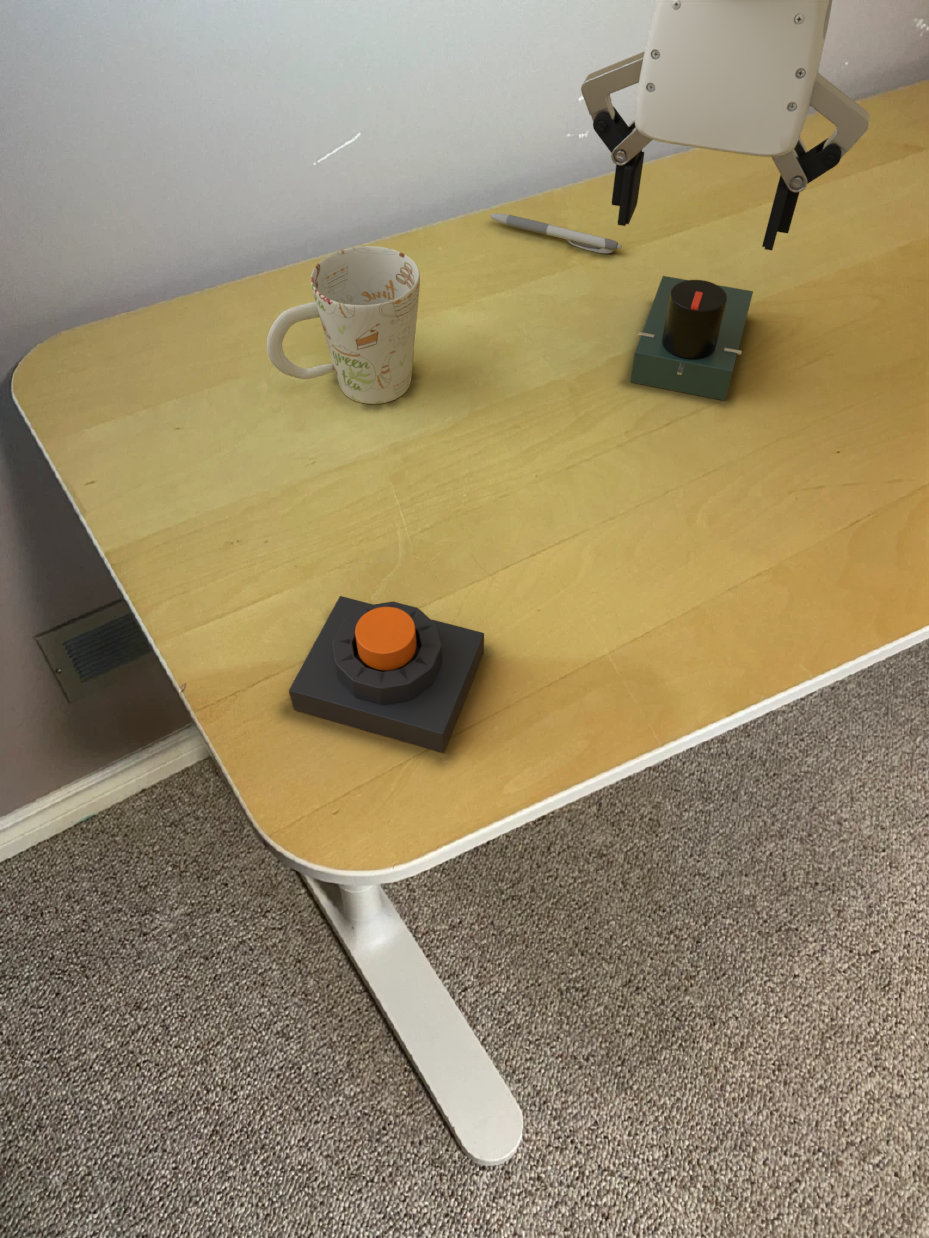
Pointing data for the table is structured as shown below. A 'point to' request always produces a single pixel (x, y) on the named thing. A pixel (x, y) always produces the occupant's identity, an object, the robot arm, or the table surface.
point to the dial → (694, 319)
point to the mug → (359, 322)
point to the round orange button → (386, 638)
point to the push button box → (390, 678)
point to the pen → (560, 233)
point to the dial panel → (690, 374)
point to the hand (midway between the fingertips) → (697, 227)
